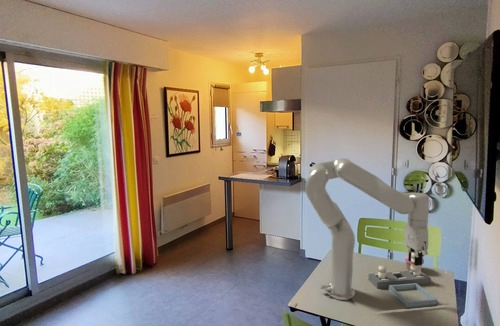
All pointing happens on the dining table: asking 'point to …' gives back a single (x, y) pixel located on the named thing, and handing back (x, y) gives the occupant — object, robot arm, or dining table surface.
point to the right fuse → (418, 272)
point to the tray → (428, 301)
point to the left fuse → (382, 272)
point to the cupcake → (410, 261)
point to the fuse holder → (398, 279)
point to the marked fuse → (413, 267)
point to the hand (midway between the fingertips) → (415, 262)
